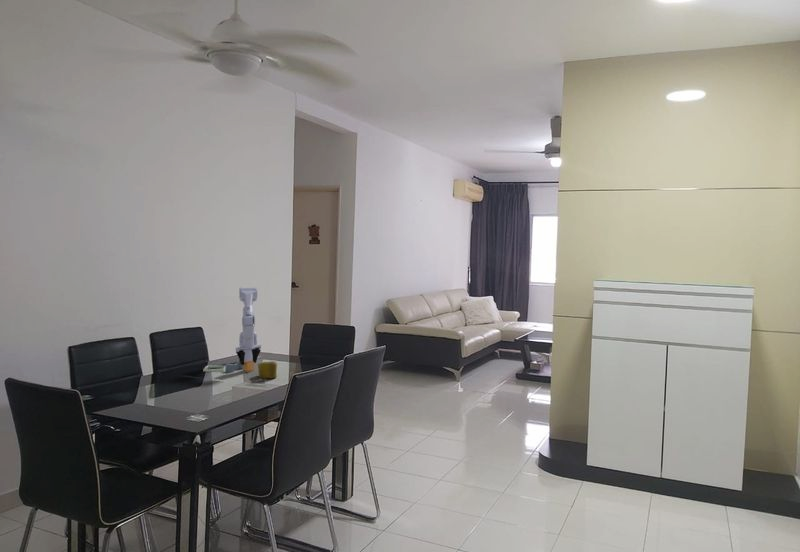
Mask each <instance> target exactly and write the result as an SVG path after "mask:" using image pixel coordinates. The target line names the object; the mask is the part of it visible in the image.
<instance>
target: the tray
mask: <svg viewBox="0 0 800 552" xmlns="http://www.w3.org/2000/svg"><path fill="white" fill-rule="evenodd" d="M211 368H212V369H211ZM219 368H220V369H219ZM202 370H203V371H202V372H225V365H220V364H219V365H206V366H205V367H204V368H203V369H202Z"/></svg>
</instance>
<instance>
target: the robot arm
mask: <svg viewBox="0 0 800 552" xmlns="http://www.w3.org/2000/svg"><path fill="white" fill-rule="evenodd" d="M238 297H239V302H241V303H243V305H244V306H243V308H242V319H241V326H242V331H241V332H240V334H239V341H238V342H239V346H238V347H235V353H236V355H237V356H238V361H239V360H240V364H241V365H244V361H254V364H256V363H257V361H258V357H259V354H260V353H261V351H262V350H261V349H262V345H261V344H258V334H257V332H256V331H255V327H256V326H255V325H256V317H255V309H254V306H253V304H254V302H256V301H257V300H258V288H257V287H239V296H238Z"/></svg>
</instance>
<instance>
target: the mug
mask: <svg viewBox="0 0 800 552" xmlns="http://www.w3.org/2000/svg"><path fill="white" fill-rule="evenodd" d="M257 368H258V369H257V371H258V376H259V378H261V380H264V379H265V380H266V379H267V380H268V379H276V378H277V370H278V362H277V361H263V362H262V361H261V362H258V363H257Z"/></svg>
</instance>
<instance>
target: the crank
mask: <svg viewBox="0 0 800 552" xmlns="http://www.w3.org/2000/svg"><path fill="white" fill-rule="evenodd" d="M238 370H243V365H241V364H240V360H239V359H238V360H237V361H235V363H225V371H224V372H227V373H234V372H235V371H238Z"/></svg>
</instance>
